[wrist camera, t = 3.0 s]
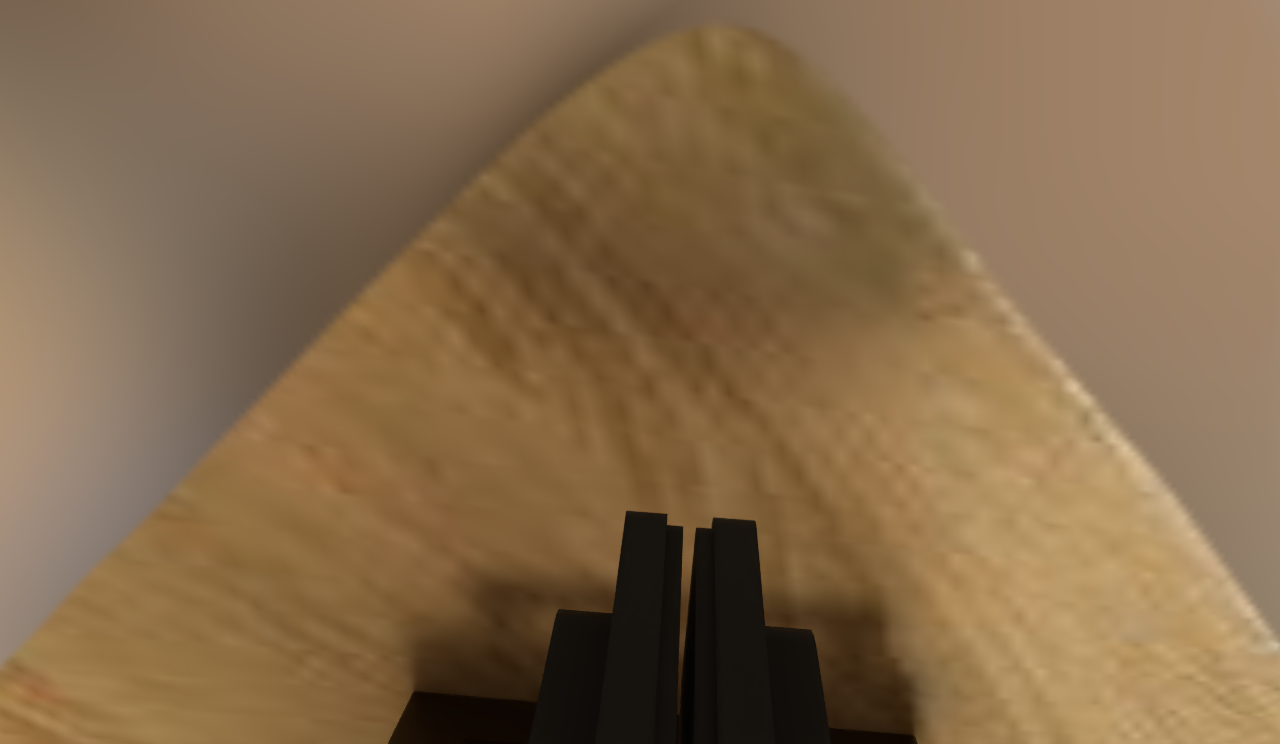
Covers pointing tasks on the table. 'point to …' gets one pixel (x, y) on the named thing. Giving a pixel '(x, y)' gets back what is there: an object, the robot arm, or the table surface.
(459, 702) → the oven door
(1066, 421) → the table surface
